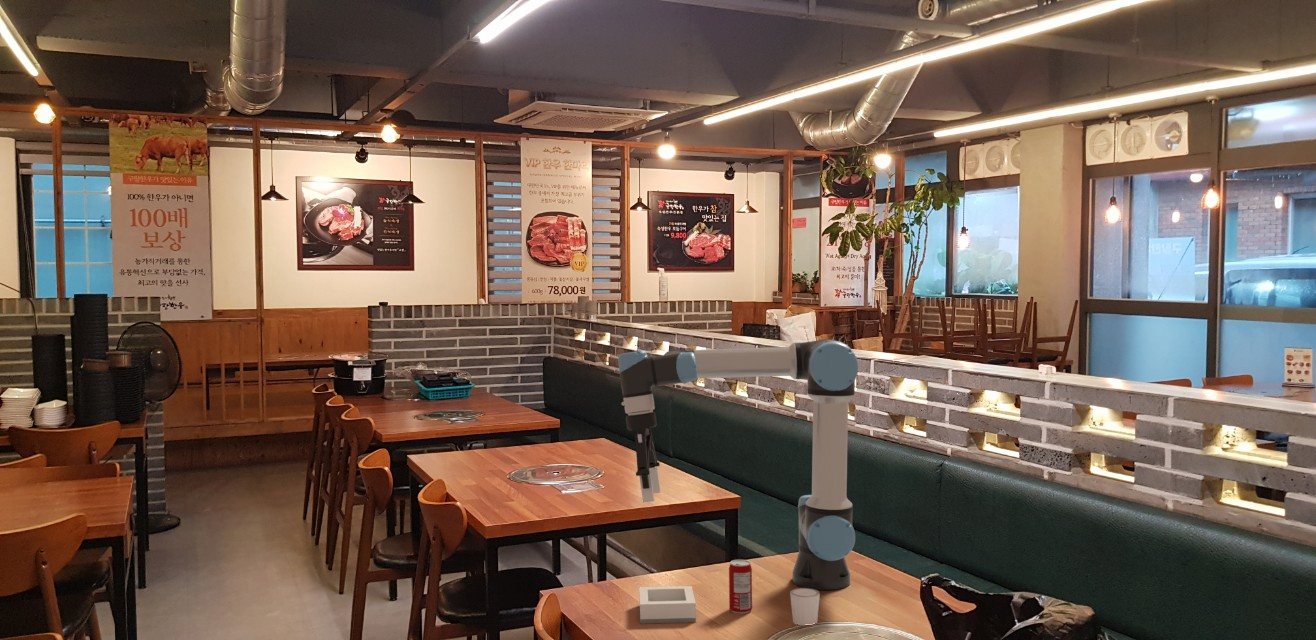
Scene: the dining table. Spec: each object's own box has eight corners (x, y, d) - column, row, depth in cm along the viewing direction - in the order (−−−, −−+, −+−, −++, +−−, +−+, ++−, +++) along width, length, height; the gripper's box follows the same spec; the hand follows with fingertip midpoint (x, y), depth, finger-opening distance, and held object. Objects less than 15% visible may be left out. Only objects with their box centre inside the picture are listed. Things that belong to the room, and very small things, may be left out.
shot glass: (819, 627, 220) (819, 597, 219) (789, 626, 221) (789, 596, 221) (820, 617, 226) (820, 588, 226) (791, 616, 228) (790, 586, 228)
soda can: (740, 605, 236) (739, 556, 236) (756, 610, 232) (756, 561, 232) (724, 610, 232) (724, 561, 232) (741, 615, 228) (740, 565, 228)
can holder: (691, 604, 237) (691, 586, 237) (695, 622, 224) (695, 603, 224) (639, 605, 237) (639, 587, 237) (640, 623, 224) (640, 604, 224)
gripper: (632, 411, 253) (643, 491, 252) (617, 418, 228) (630, 507, 227) (660, 407, 252) (671, 487, 251) (648, 414, 227) (661, 503, 226)
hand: (652, 497), depth 239 cm, fingers open, 13 cm apart
